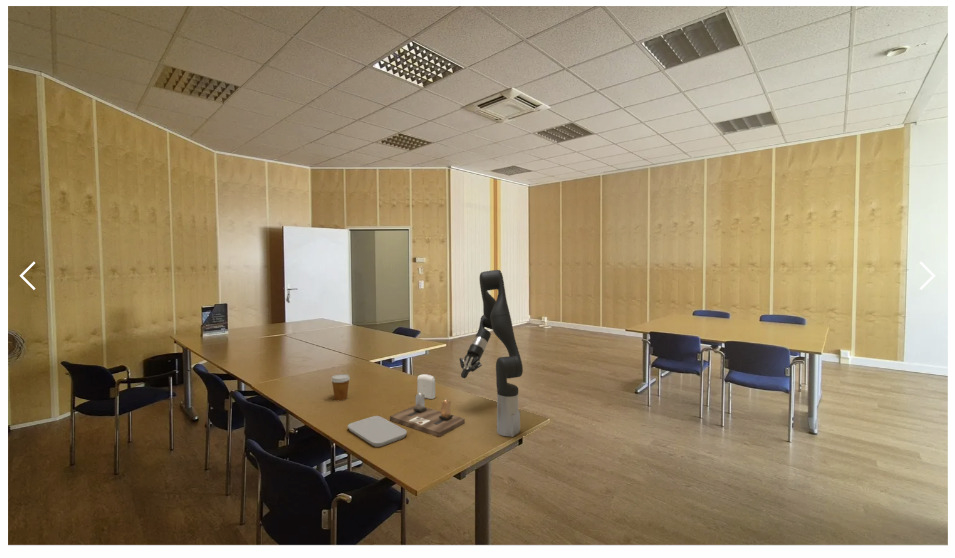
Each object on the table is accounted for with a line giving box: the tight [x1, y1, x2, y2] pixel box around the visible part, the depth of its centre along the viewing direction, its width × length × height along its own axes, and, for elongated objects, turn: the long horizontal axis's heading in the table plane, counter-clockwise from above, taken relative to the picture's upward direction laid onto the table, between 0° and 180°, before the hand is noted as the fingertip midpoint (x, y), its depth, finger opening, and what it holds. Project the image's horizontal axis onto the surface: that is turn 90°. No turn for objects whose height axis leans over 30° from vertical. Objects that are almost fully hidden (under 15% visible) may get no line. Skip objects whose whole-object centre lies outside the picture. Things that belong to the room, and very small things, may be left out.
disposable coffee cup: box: [330, 373, 351, 401], centre depth 217 cm, size 10×10×12 cm
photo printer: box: [416, 373, 436, 400], centre depth 219 cm, size 10×4×12 cm, turn 64°
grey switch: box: [414, 392, 428, 412], centre depth 195 cm, size 4×4×8 cm
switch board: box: [389, 404, 466, 438], centre depth 187 cm, size 30×18×2 cm, turn 55°
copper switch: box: [439, 398, 453, 420], centre depth 186 cm, size 4×4×8 cm
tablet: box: [347, 415, 408, 448], centre depth 176 cm, size 16×26×2 cm, turn 45°
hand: (463, 377), depth 197 cm, fingers closed
